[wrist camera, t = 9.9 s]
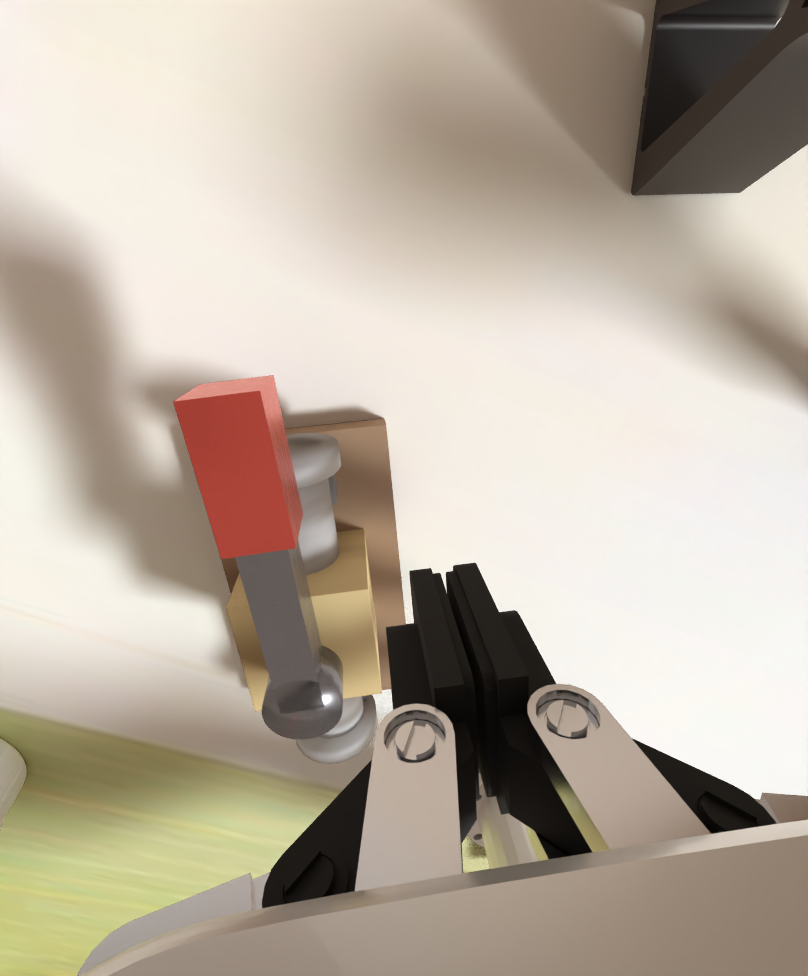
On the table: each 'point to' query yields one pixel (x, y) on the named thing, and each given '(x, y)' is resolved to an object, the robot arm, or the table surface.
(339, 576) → the valve manifold
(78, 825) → the table surface
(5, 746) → the ramekin
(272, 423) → the lever
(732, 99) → the phone stand
